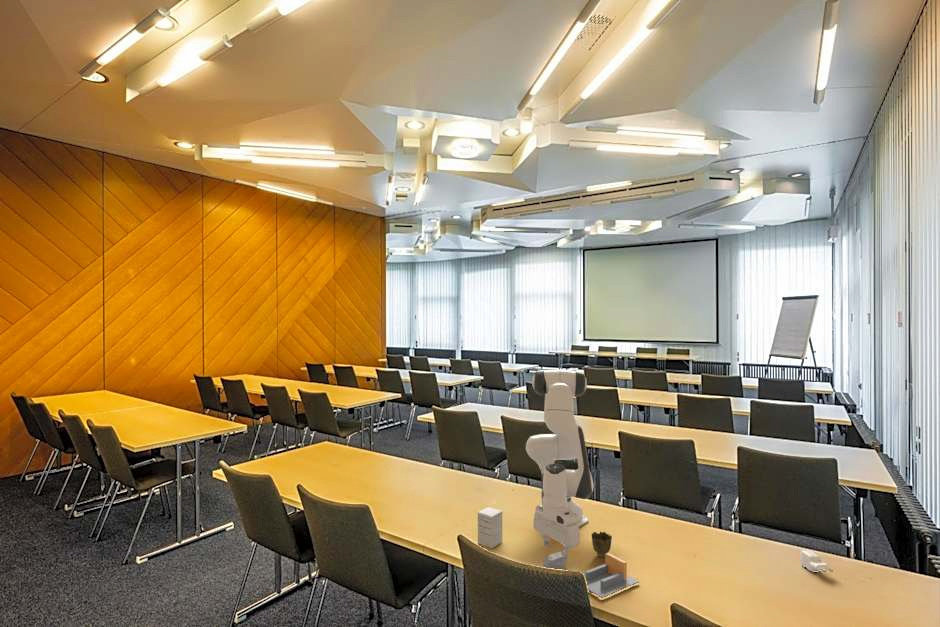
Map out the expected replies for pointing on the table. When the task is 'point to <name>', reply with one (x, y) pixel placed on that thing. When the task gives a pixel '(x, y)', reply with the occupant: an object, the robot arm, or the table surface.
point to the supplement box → (489, 527)
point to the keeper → (609, 577)
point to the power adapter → (813, 561)
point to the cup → (601, 543)
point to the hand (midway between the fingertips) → (555, 551)
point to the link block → (555, 561)
